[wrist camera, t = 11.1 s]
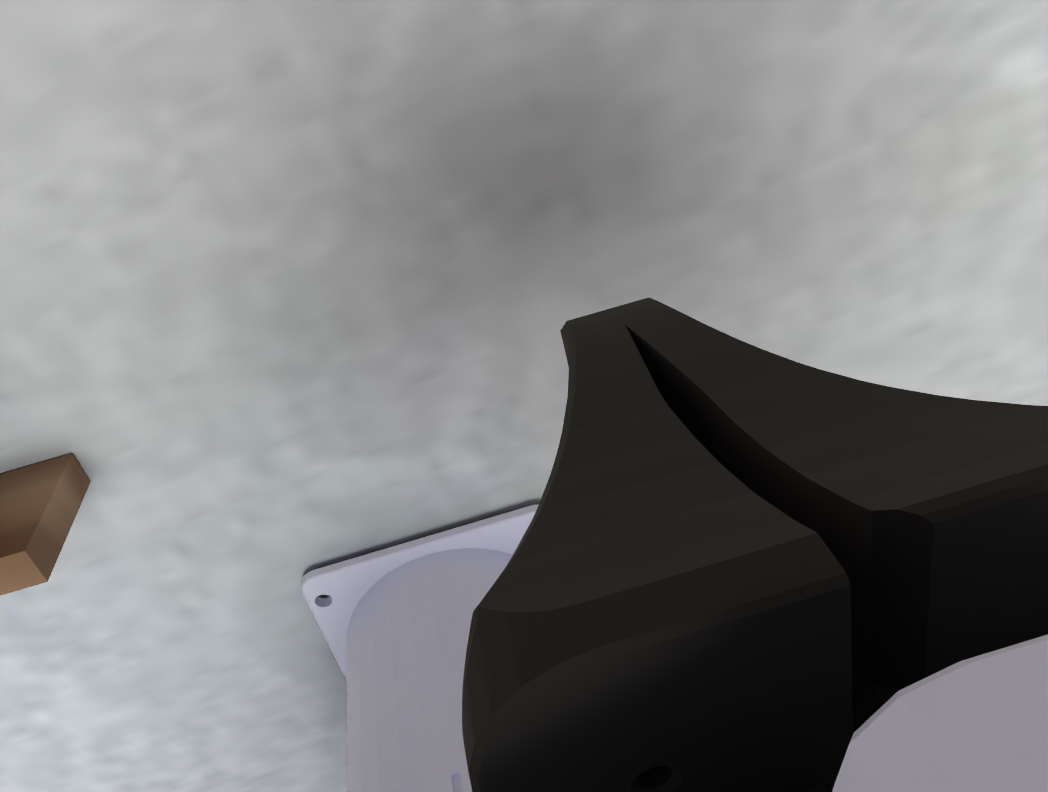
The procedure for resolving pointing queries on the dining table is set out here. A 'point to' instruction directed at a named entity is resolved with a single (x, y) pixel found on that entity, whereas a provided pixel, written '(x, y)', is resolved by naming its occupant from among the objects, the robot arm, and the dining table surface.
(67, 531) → the frame
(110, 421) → the dining table surface
